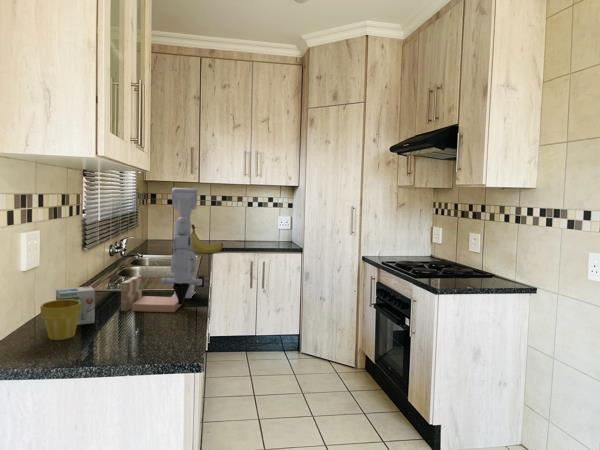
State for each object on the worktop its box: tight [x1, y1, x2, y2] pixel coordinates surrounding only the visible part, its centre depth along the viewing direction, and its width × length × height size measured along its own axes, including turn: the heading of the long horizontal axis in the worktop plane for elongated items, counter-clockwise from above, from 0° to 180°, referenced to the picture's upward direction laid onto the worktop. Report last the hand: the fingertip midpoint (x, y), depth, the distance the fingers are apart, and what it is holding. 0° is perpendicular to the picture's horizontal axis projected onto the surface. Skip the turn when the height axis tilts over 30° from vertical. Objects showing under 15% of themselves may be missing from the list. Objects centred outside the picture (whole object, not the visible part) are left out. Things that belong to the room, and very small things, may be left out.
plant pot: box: [39, 299, 81, 341], centre depth 129 cm, size 10×10×10 cm
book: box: [131, 295, 182, 313], centre depth 165 cm, size 12×15×3 cm
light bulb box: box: [55, 285, 96, 326], centre depth 143 cm, size 11×7×11 cm, turn 126°
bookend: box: [120, 274, 143, 312], centre depth 165 cm, size 15×2×10 cm, turn 0°
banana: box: [191, 223, 224, 254], centre depth 309 cm, size 23×6×20 cm, turn 105°
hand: (181, 303), depth 165 cm, fingers closed
